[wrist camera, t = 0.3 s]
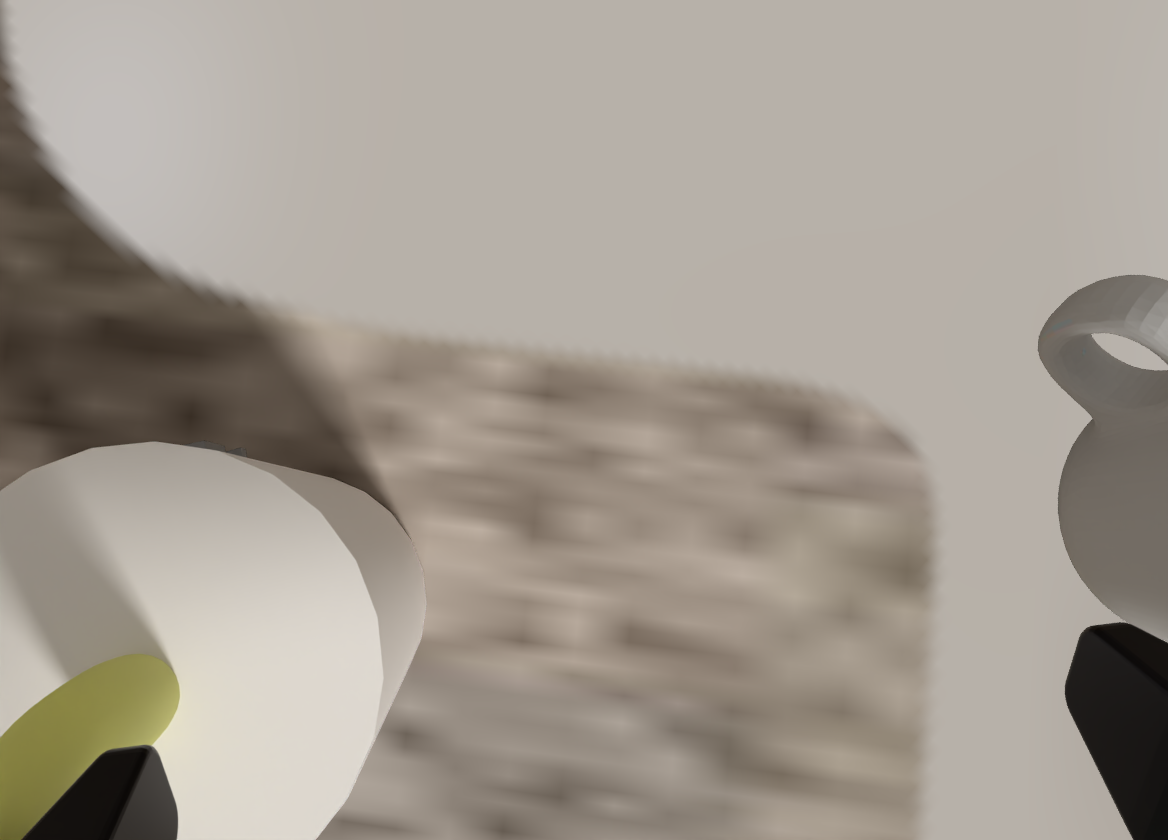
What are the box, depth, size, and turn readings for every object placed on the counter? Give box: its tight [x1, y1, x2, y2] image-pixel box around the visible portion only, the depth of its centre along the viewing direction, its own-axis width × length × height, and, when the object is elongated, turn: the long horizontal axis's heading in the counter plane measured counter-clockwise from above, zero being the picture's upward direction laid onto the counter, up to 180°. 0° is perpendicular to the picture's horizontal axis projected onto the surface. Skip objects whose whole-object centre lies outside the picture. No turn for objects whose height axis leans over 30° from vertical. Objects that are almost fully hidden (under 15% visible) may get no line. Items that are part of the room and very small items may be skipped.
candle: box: [0, 441, 427, 840], centre depth 16 cm, size 6×6×15 cm
